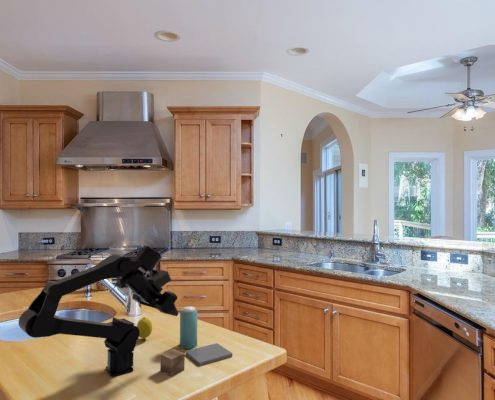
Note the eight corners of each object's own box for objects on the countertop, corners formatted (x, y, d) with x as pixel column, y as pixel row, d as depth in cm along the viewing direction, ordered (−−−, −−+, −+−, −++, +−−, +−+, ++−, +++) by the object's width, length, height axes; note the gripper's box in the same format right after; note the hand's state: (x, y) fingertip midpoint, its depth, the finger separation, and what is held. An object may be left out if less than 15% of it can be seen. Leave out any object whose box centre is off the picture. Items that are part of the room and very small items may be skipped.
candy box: (111, 288, 204) (111, 261, 204) (109, 290, 200) (109, 262, 200) (95, 288, 203) (96, 261, 203) (93, 290, 199) (93, 262, 199)
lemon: (153, 336, 133) (153, 314, 133) (149, 342, 128) (150, 319, 128) (138, 336, 133) (138, 314, 133) (134, 342, 127) (134, 319, 127)
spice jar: (184, 350, 121) (184, 312, 121) (177, 344, 126) (177, 307, 126) (200, 346, 124) (200, 309, 124) (192, 340, 129) (192, 304, 129)
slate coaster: (199, 365, 110) (199, 362, 110) (185, 354, 118) (185, 351, 118) (232, 356, 117) (232, 353, 117) (217, 345, 125) (217, 343, 125)
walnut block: (170, 376, 103) (171, 359, 103) (160, 371, 106) (160, 354, 106) (184, 370, 107) (184, 353, 107) (173, 365, 110) (174, 349, 110)
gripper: (172, 267, 109) (200, 296, 117) (141, 260, 122) (168, 286, 130) (149, 298, 103) (180, 327, 111) (118, 286, 116) (148, 313, 124)
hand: (169, 311), depth 119 cm, fingers open, 9 cm apart
